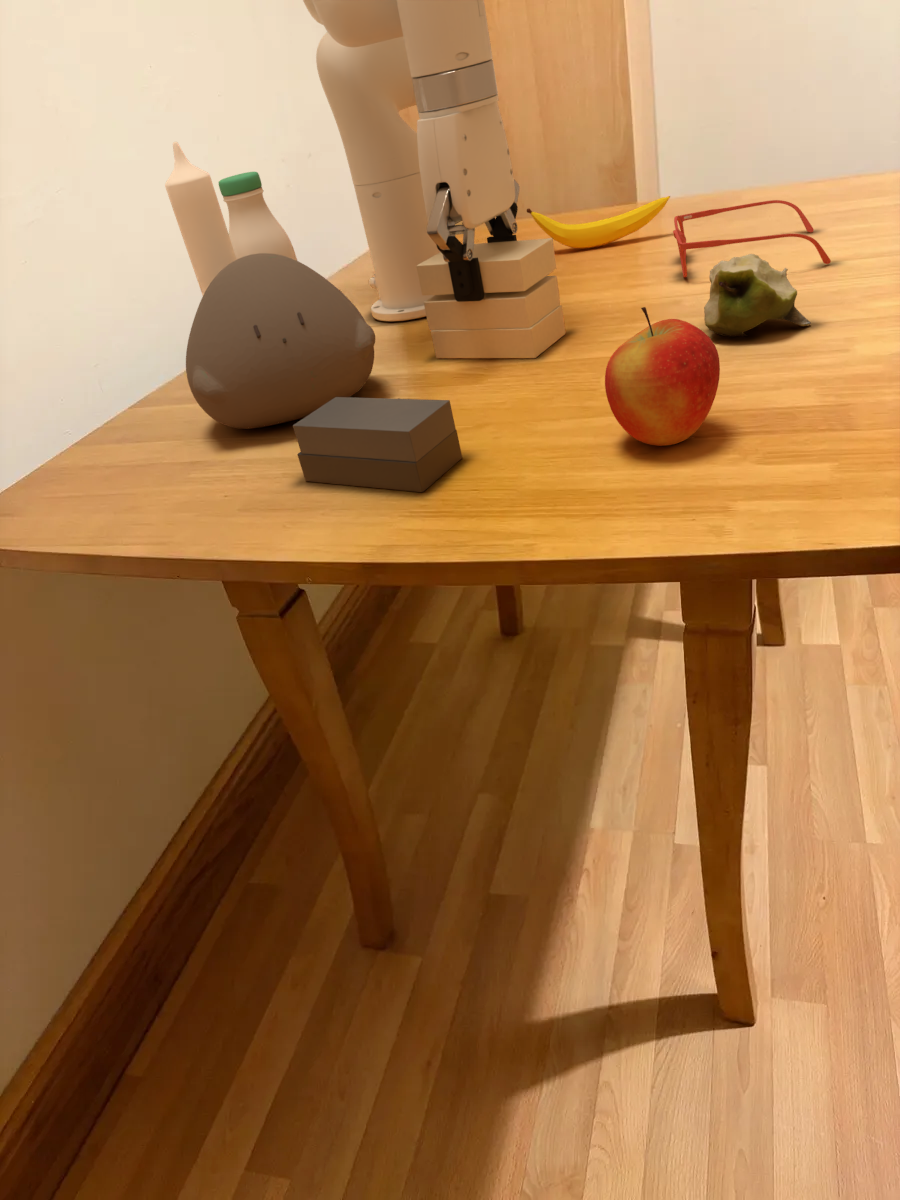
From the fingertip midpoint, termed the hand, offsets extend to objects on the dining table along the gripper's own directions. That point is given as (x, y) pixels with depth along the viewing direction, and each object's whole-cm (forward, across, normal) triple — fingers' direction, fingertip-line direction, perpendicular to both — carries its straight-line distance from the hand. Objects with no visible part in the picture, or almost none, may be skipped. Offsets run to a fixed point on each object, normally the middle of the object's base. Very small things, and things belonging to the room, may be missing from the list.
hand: (489, 286), depth 92 cm
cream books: (+6, 0, 0) cm, 6 cm away
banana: (+7, -38, -5) cm, 39 cm away
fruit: (+6, -4, +25) cm, 26 cm away
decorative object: (+6, +17, -14) cm, 23 cm away
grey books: (+6, +28, +5) cm, 30 cm away
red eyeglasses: (+6, -28, +18) cm, 33 cm away
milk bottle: (+7, +1, -29) cm, 30 cm away
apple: (+6, +20, +26) cm, 33 cm away
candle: (+6, +12, -24) cm, 28 cm away
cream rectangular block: (0, 0, 0) cm, 0 cm away
